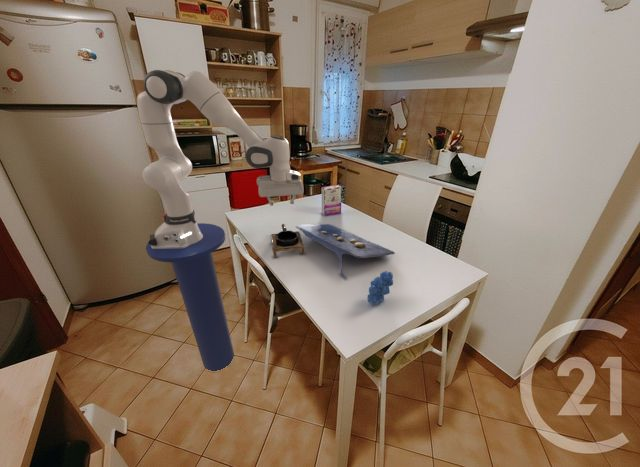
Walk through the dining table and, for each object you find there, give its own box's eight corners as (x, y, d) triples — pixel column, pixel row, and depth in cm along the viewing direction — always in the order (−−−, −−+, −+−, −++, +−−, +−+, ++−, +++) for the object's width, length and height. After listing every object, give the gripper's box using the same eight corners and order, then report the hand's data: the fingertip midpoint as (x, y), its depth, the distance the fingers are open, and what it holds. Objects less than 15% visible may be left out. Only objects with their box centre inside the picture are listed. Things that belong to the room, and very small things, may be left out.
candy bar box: (337, 210, 163) (338, 184, 155) (341, 213, 159) (342, 187, 151) (321, 212, 159) (321, 186, 151) (324, 216, 155) (324, 189, 147)
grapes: (380, 288, 97) (383, 261, 91) (394, 298, 92) (400, 270, 87) (358, 301, 91) (360, 273, 85) (372, 313, 86) (376, 284, 80)
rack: (273, 258, 114) (272, 248, 112) (270, 243, 126) (270, 234, 124) (305, 254, 117) (304, 245, 115) (299, 239, 129) (299, 230, 127)
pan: (277, 248, 114) (276, 242, 113) (273, 229, 130) (272, 224, 129) (300, 245, 116) (299, 239, 115) (293, 227, 132) (293, 222, 131)
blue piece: (286, 244, 130) (290, 221, 127) (326, 241, 149) (330, 221, 146) (353, 283, 99) (359, 255, 96) (393, 273, 117) (400, 249, 114)
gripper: (256, 178, 110) (259, 208, 116) (304, 175, 115) (304, 205, 121) (255, 174, 115) (258, 203, 122) (301, 172, 120) (302, 200, 126)
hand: (281, 204), depth 121 cm, fingers open, 8 cm apart
